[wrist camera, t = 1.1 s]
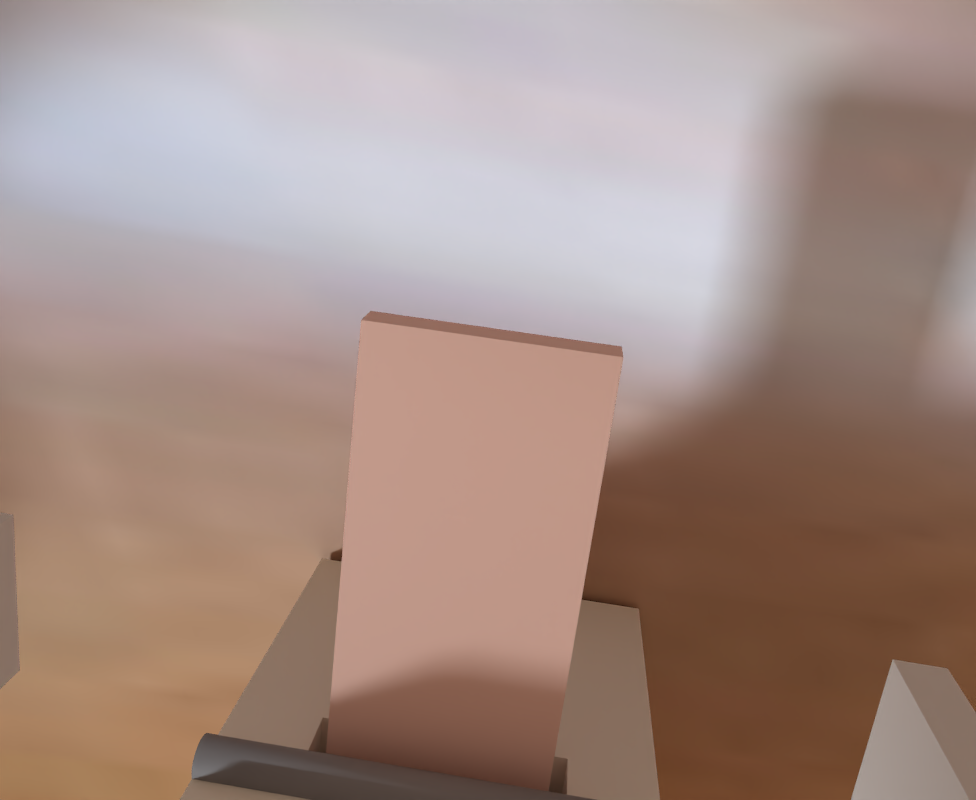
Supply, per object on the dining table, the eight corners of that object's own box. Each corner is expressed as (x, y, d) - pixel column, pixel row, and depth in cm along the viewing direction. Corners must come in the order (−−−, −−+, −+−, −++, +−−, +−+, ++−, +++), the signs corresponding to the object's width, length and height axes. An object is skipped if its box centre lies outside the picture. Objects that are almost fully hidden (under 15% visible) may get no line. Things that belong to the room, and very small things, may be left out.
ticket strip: (308, 1046, 29) (299, 1078, 28) (370, 311, 22) (361, 320, 21) (495, 1082, 29) (492, 1115, 28) (621, 346, 22) (623, 357, 21)
